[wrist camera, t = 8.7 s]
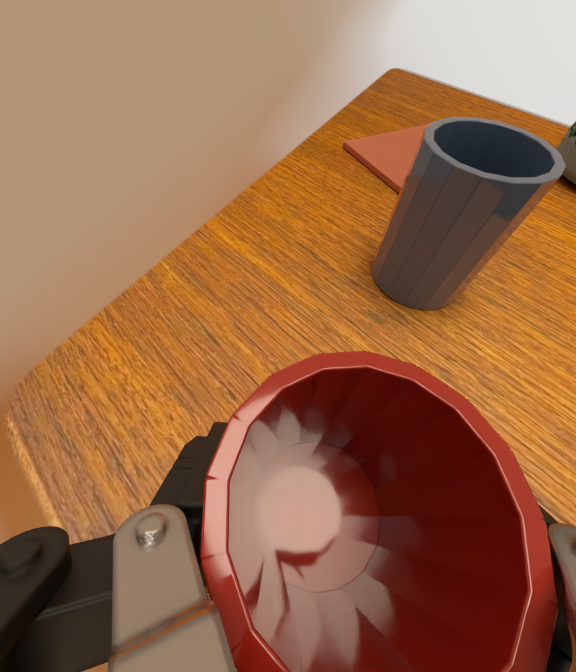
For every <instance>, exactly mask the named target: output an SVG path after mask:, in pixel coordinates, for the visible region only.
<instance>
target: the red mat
mask: <svg viewBox="0 0 576 672" xmlns="http://www.w3.org/2000/svg"><path fill="white" fill-rule="evenodd" d="M430 124H432V123H429V124H425V125H420V126H415V127H410V128H406V129H401V130H396V131H391V132H387V133H382V134H377V135H372V136H368V137H363V138H358V139H353V140H348V141H344V143H343V148H345V149H346V150H347V151H348V152H349V153H351V154H352V155H353V156H354V157H355V158H357V159H358V160H359V161H360V162H361V163H363V164H364V165H365V166H366V167H367V168H369V169H370V170H371V171H372V172H373V173H375V174H376V175H377V176H378V177H379V178H381V179H382V180H383V181H384V182H385V183H387V184H388V185H389V186H390V187H391V188H393V189H394V190H395V191H396V192H398V193H400V191H401V188H402V185H403V183H404V180H405V178H406V175H407V173H408V170H409V168H410V165H411V163H412V160H413V158H414V155H415V153H416V150H417V148H418V145H419V143H420V140H421V138H422V135H423V133H424V130H425V128H426V127H428V126H429V125H430Z"/></svg>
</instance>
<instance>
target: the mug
mask: <svg viewBox="0 0 576 672" xmlns="http://www.w3.org/2000/svg"><path fill="white" fill-rule="evenodd" d="M557 151H559V152H560V153H561V155H562V158H563V160H564V162H565V164H566V168H565V170H564V171H563V173H562V175H563V176H564V177H566V178H567V179H568V180H569V181H571V182H573V183H574V184H576V122H575V123H574V124H573V125H572V126H571V127H570V129H569V130H568V132H567V133H566V135H565V137H564V138H563V140H562V141H561V143H560V145H559V146H558V148H557Z"/></svg>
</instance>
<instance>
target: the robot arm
mask: <svg viewBox="0 0 576 672" xmlns="http://www.w3.org/2000/svg"><path fill="white" fill-rule="evenodd" d="M227 424H228V423H226V422H214V424H213V426H212V428H211V430H210V432H209V434H208V436H207V437H203V436H196V437H195V438H194V439H192V440H191V441H190V442H188V443H187V444H186V445H185V446H184V448H183V449H182V451H181V453H180V454H179V456H178V459H177V460H176V461H175V463H174V465H173V468H171V470H170V471H169V473H168V475H167V477H166V478H165V480H164V482H163V483H162V485H161V487H160V489H159V490H158V492H157V494H156V495H155V497H154V499H153V501H152V502H151V504H150V506H149V507H146V508H144V509H141V510H139V511H137V512H136V513H134V514H133V515H131V516H130V517H129V518H128V519H126V520H125V521H124V522H123V523H122V525H121V526H120V527H119V529H118V530H117V532H116V533H114V534H112V535H109V536H105V537H101V538H97V539H93V540H88V541H84V542H80V543H75V544H71V545H70V544H69V537H68V534H67V532H66V531H65V530H63V529H61V528H59V527H51V526H48V527H40V528H36V529H32V530H29V531H26V532H24V533H21V534H19V535H17V536H15V537H13V538H11V539H9V540H7V541H6V542H4V543H2V544H1V545H0V672H82V671H84V670H87V669H90V668H92V667H95V666H98V665H101V664H103V663H106V662H108V672H236V669H235V666H234V662H233V659H232V655H231V652H230V648H229V645H228V641H227V638H226V635H225V631H224V628H223V624H222V621H221V618H220V614H219V611H218V609H217V606H216V604H215V602H214V601H213V600H211V601H208V599H207V596H206V592H205V589H204V587H207V585H206V582H205V578H204V575H203V571H202V568H201V561H202V560H201V559H200V545H201V528H202V512H203V495H204V481H205V478H206V473H207V471H208V468H209V466H210V464H211V461H212V459H213V456H214V454H215V452H216V449H217V447H218V445H219V442H220V440H221V438H222V435H223V433H224V431H225V428H226V426H227ZM538 506H539V508H540V510H541V512H542V514H543V516H544V519H543V520H544V521H545V523H546V526H547V533H548V539H549V546H550V552H551V558H552V565H553V571H554V578H555V584H556V591H557V597H558V606H556V607H557V608H558V615H557V620H556V625H555V629H554V634H553V639H552V644H551V648H550V653H549V658H548V662H547V667H546V672H576V526H573V525H568V524H562V523H558V522H557V521H556V520H555V519H554V518H553V517H552V516H551V515H549V514H548V513H547V512H546V511H545V510H544V509H543V508H542V507H541V506H540V505H539V504H538Z"/></svg>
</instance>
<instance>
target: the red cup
mask: <svg viewBox="0 0 576 672" xmlns="http://www.w3.org/2000/svg"><path fill="white" fill-rule="evenodd" d="M543 519H544V516H543V514H542V512H541V510H540V508H539V506H538V503H537V501H536V499H535V497H534V495H533V493H532V491H531V489H530V487H529V485H528V483H527V481H526V478H525V476H524V474H523V472H522V470H521V468H520V466H519V464H518V462H517V460H516V458H515V456H514V453H513V452H512V451H511V450H510V447H509V446H508V445H507V443H506V442H505V441H504V440H503V439H502V438H501V437H500V435H499V434H498V433H497V432H496V431H495V430H494V429H493V427H492V426H491V425H490V424H489V423H488V422H487V421H486V419H485V418H484V417H483V416H482V415H481V414H480V413H479V411H478V410H477V409H476V408H475V407H474V406H473V404H472V403H471V402H470V401H469V400H468V399H466V398H465V397H464V396H463V395H461V394H460V393H458V392H457V391H455V390H454V389H452V388H451V387H449V386H448V385H446V384H445V383H443V382H442V381H440V380H439V379H437V378H436V377H434V376H432V375H431V374H429V373H428V372H426V371H425V370H423V369H422V368H420V367H416V365H414V364H410V363H407V362H403V361H400V360H396V359H393V358H389V357H386V356H382V355H379V354H375V353H372V352H366V351H357V352H338V353H320V354H317V355H313V356H311V357H308V358H306V359H304V360H302V361H300V362H297V363H295V364H293V365H291V366H289V367H286V368H284V369H282V370H280V371H277V372H275V373H273V374H272V375H270V376H269V377H268V378H267V379H266V380H265V381H264V382H263V383H262V384H261V385H260V386H259V387H258V388H257V389H256V390H255V391H254V392H253V393H252V394H251V395H250V396H249V397H248V398H247V399H246V400H245V401H244V402H243V404H242V405H241V406H240V407H239V408H238V409H237V410H236V411H235V412H234V413H233V415H232V416H231V417H230V419H229V421H228V424H227V426H226V428H225V431H224V433H223V435H222V438H221V440H220V442H219V445H218V447H217V449H216V452H215V454H214V456H213V459H212V461H211V464H210V466H209V468H208V471H207V473H206V478H205V481H204V495H203V512H202V528H201V545H200V559H201V560H202V561H201V568H202V571H203V575H204V578H205V582H206V585H207V589H208V592H209V596H210V599H211V600H213V601H214V602H215V604H216V606H217V609H218V611H219V614H220V618H221V621H222V624H223V628H224V631H225V635H226V638H227V641H228V645H229V648H230V652H231V655H232V659H233V662H234V666H235V668H236V669H237V670H238V672H546V667H547V662H548V658H549V653H550V648H551V644H552V639H553V634H554V629H555V625H556V620H557V615H558V608H557V607H556V606H558V597H557V591H556V584H555V578H554V571H553V565H552V558H551V552H550V546H549V539H548V533H547V526H546V523H545V521H544V520H543Z"/></svg>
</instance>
